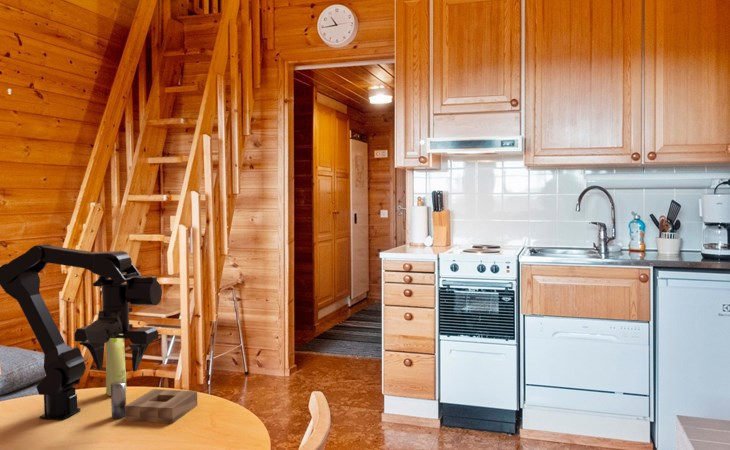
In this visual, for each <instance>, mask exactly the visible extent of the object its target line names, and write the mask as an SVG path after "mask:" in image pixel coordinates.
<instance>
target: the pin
mask: <svg viewBox="0 0 730 450" xmlns="http://www.w3.org/2000/svg"><path fill="white" fill-rule="evenodd" d="M126 394H127V386H126V387H125V382H123V381H119V382H114V383H111V396H110V401H111V402H110V403H111V405H110V406H111V419H113V420H121V419H125V405H127V395H126Z"/></svg>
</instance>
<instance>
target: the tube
mask: <svg viewBox="0 0 730 450" xmlns="http://www.w3.org/2000/svg"><path fill="white" fill-rule="evenodd" d="M119 335H123V334H119ZM125 349H126V348H125V339H124V338H110V339H109V341H108V342H106V343H105V388H106V389H105V390H106V395H107V396H109V397H111V383H114V382H119V381H123V382H125V387H126V388H127V373H126V370H127V369H126V355H125V354H126V352H125V351H126V350H125Z"/></svg>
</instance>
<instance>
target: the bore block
mask: <svg viewBox="0 0 730 450" xmlns="http://www.w3.org/2000/svg"><path fill="white" fill-rule="evenodd" d="M197 406H198V390H197V391H196V390H177V389H157V388H154V389H153V388H152V389H151V390H149V391H148V392H146V393H144V394H143V395H141V396H139V397H138V398H136V399H133V400H132V401H131V402H129V403H126V405H125V417H124V419H125V421H126V422H127V421H128V422H132V421H133V422H144V423H145V422H146V423H163V424H174V423H175V422H176V421H178V420H179V419H181V418H182V417H184V416H185V415H186V414H187V413H189V412H191V411H192V410H193V409H194V408H196V407H197Z"/></svg>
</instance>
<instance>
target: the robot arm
mask: <svg viewBox="0 0 730 450" xmlns="http://www.w3.org/2000/svg"><path fill="white" fill-rule="evenodd" d="M48 264H54V265H61V266H67V267H73V268H79V269H80V268H81V269H85V270H88V271H89V272H91V273H92V274H94V275H98V276H99V277H98V279H97V280H95V281H94V282H93V283H92V286H93V287H101V296H102V297H101V299H102V301H101V302H102V304H101V305H102V306H101V307H102V310H99V311H98V317H97V319H96V320H95V321H93V322H92V323H90V324H88V325H84V326H82V327H79V328H77V329H76V330H75V332H74V333H73V339H74V342H78V344H79V345H81V346H83V347H85V349H87V350H88V351H89V353H90V355H91V357H92V359H93V362H94V364H95V366H96V368H97V370H98V371H100V370H102V369H103V366H104V358H105V356H104V355H105V346H106V342H108V341H109V339H110V338H124V340H127V339H129V342H130V343H131V344H129V345H128V347H129V349H130V350H131V368H132V372H137V371H138V368H139V366H140V364H141V362H142V359H143V356H144V355H145V352H146V351H147V349H148V346H149V345H150V344H151V343H154V342H155V341H157V340H158V339H159V331H158V329H157V328H156V327H154V326H153V327H151V326H141V327H138V328H136V329H134V330H133V328H134V327H133V324H132V323H130V313H131V312H133V307H132V306H155V307H156V306H158V305H159V304H160V303H161V300H162V296H163V289H162V287H161V283H160V282H159V281H158V278H157V277H158V276H157V275H151V276H142V274H141V273H140V271H139V270H138V269H137V268H136V266H135V265H134V264H133V262H132V259H131V256H130V255H129V253H128V252H126V251H123V250H117V251H116V250H115V251H114V250H113V251H110V250H109V251H99V252H98V251H97V252H96V251H87V250H83V249H82V250H80V249H75V248H69V247H61V246H54V245H51V244H44V243H43V244H38V245H37V244H36V245H33V246H32V247H31V248H29V249H28V250H27V251H25V252H24V253H23V254H21V255H19V256H17V257H16V258H14V259H12V260H10V261H9V262H7V263H5V264H2V265H1V266H0V287H1V288H2V290H3V291H4V293H6V294H7V295H8V296H10V297H11V298H12V299H14V300H15V301H16V302H17V303H18V305H19V306H20V309H21V311H22V312H23V315H24V316H25V318H26V321H27V323H28V325H29V327H30V328H31V330H32V333H33V334H34V336H35V339H36V340H37V342H38V345H39V346H40V348H41V350H42V352H43V354H44V355H43V370H44V373H45V377H44V378H42V380H40V382H39V383H38V384H37V385H36V390H37V392H38V395H40V396H43V407H44V408H43V409H44V413H42V414H40V415H39V419H46V420H48V419H49V420H60V421H61V420H66V419H67V418H69V417H71V416H73V415H75V414H76V413H78V412H80V411H81V408H80V407H78V394H77V393H76V387H75V386H76V385H77V386H78V385H79V384H80V382H81V378H83V376H84V374H85V372H86V369H87V367H86V363H85V362H86V361H87V359H86V358H84V356H83V354H82V352H81V349H80V347H78V346H75V347H73V348H72V347H70V346H69V345H68V344H67V343H66V342H65V340H64V338H63V336H62V334H61V332H60V329H59V328H58V326H57V324H56V322H55V321H54V318H53V317H52V314H51V313H50V311H49V308H48V307H47V305H46V302H45V300H44V298H43V296H42V294H41V292H40V286H41V279H40V275H39V274H40V273H41V272H42V271H43V270H44V269H45V268H46V267H47V266H48ZM129 304H130V305H131V306H130V305H129ZM119 334H123V335H119Z"/></svg>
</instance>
